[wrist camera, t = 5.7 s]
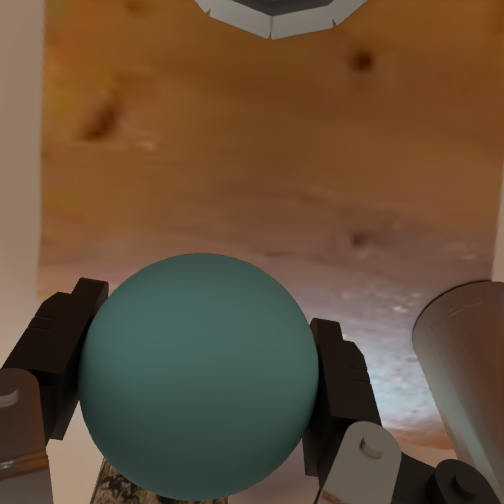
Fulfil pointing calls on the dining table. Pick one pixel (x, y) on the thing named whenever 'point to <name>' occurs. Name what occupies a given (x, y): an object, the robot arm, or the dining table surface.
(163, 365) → the ball
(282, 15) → the grey ribbed round container
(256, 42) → the dining table surface
